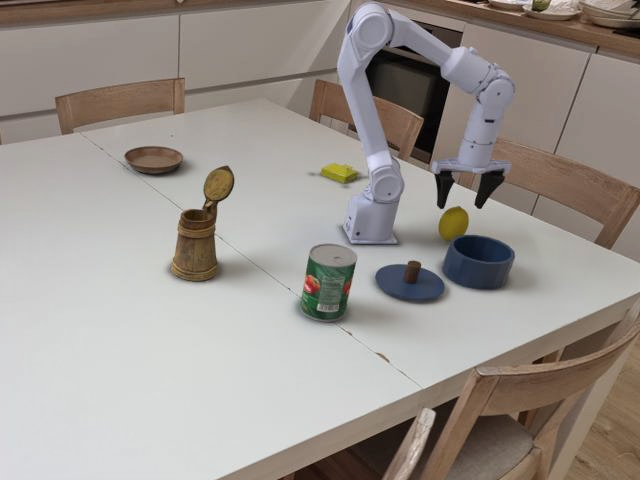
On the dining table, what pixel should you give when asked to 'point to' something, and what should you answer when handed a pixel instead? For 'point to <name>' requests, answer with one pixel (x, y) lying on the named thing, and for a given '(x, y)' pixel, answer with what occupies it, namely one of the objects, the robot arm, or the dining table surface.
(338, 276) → the canned tomato
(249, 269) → the dining table surface
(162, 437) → the dining table surface
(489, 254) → the pot
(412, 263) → the pot lid
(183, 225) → the wooden mug
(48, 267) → the dining table surface
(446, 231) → the lemon
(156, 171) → the saucer
